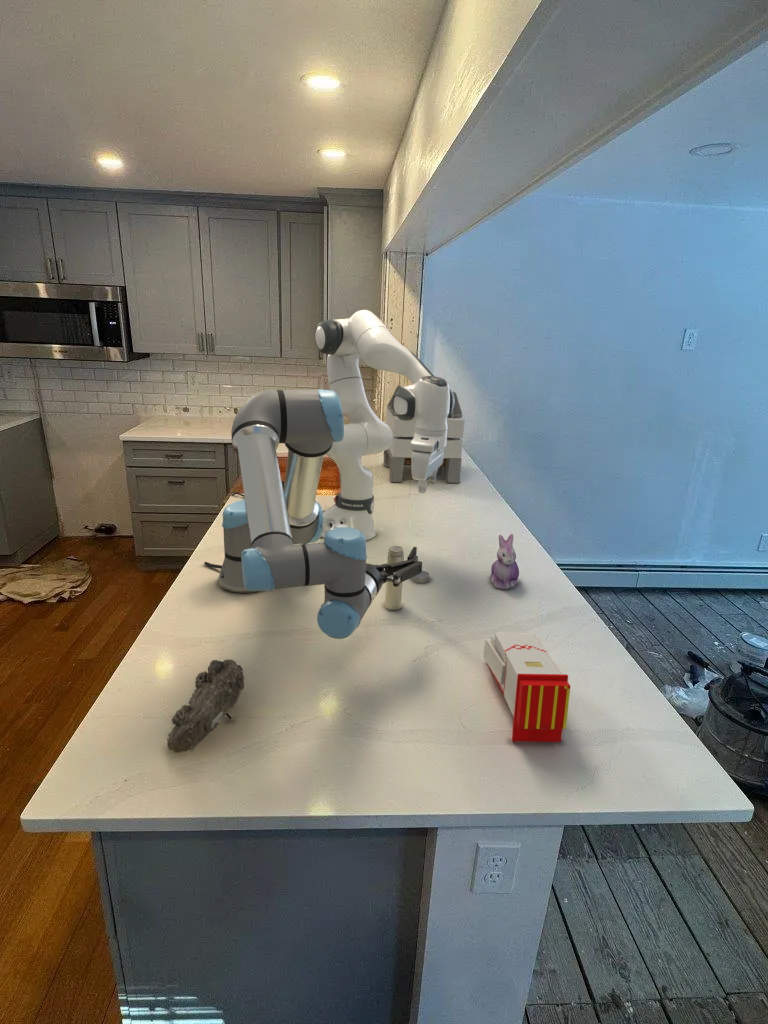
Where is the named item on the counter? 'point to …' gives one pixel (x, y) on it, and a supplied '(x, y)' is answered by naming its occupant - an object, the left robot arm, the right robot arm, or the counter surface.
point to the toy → (529, 686)
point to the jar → (392, 592)
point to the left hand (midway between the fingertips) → (387, 547)
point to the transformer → (404, 434)
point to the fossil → (206, 705)
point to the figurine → (505, 565)
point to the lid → (421, 577)
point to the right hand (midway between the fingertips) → (427, 487)
